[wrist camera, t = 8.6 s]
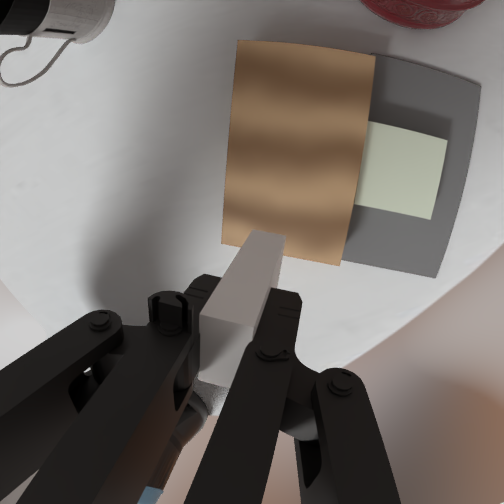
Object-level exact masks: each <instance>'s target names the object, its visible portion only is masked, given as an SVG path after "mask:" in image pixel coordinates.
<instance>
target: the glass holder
mask: <svg viewBox="0 0 504 504" xmlns="http://www.w3.org/2000/svg"><path fill="white" fill-rule="evenodd" d="M113 9H114V0H0V35H19V36H25V37H27V41H26V44H25V46H24V47H16V48H11V49H9V50H7V51H5V52H4V53H3V54H2V55H1V56H0V65H1V62H2V60H3V59H4V57H5V56H6V55H7V54H8V53H10V52H14V51H22V50H25V49H26V48H28V47H29V45H30V43H31V40H32V37H45V38H58V39H69V40H67V41H66V42H65V43H64V44H63V45H62V46H61V48H60V49H59V50H58V52H57V53H56V54H55V56H54V57H53V58H52V60H51V61H50V62H49V63H48V65H47V66H46V67H45V68H44V69H43V70H42V71H41V72H40V73H38V74H37V75H36V76H34V77H33V78H31V79H29V80H27V81H25V82H22V83H17V84H8V83H6V82H4V81H3V79H2V77H1V73H0V84H1V85H2V86H4V87H18V86H23V85H26V84H28V83H30V82H33V81H34V80H36V79H37V78H39V77H40V76H42V75H43V74H44V73H46V72H47V71H48V70H49V68H50V67H51V66H52V65H53V63H54V62H55V61H56V59H57V58H58V57H59V55H60V54H61V53H62V51H63V50H64V49H65V48H66V46H67V45H68V44H69V43H70V42H73V43H76V44H84V43H87V42H90V41H91V40H93V39H94V38H96V37H97V36H98V35H99V34H100V33H101V32H102V31H103V30H104V29H105V27H106V26H107V24H108V22H109V20H110V18H111V16H112V13H113Z"/></svg>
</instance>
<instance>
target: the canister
mask: <svg viewBox="0 0 504 504" xmlns="http://www.w3.org/2000/svg"><path fill="white" fill-rule="evenodd" d="M360 1H361V2H362V3H363V4H364V5H365V6H366V7H367V8H368V9H369V10H371V11H372V12H373V13H375V14H376V15H378V16H379V17H381V18H383V19H385V20H387V21H389V22H391V23H393V24H396V25H399V26H402V27H406V28H411V29H434V28H440V27H443V26H446V25H448V24H450V23H452V22H453V21H455V20H457V19H458V18H459V17H460V16H461V15H462V14H463V13H464V12H465V11H466V10H468V9H471V8H474V7H476V6H478V5H480V4H481V3H483V2H484V1H485V0H360Z"/></svg>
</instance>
